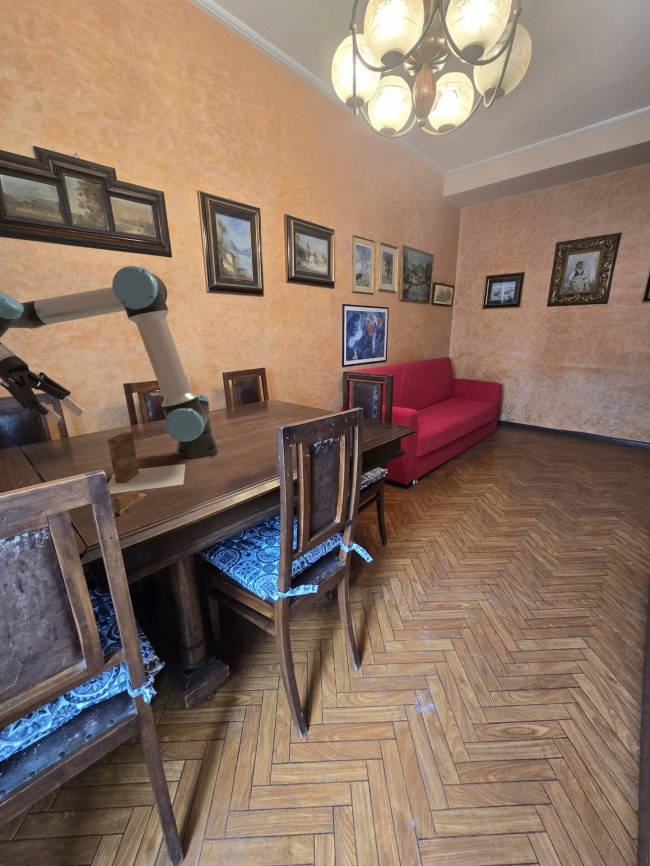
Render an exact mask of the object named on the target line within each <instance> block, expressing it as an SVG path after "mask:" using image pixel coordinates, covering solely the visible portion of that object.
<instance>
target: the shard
mask: <svg viewBox="0 0 650 866" xmlns="http://www.w3.org/2000/svg"><path fill="white" fill-rule="evenodd" d="M145 497H147V494H145V493H142V492H137V491H129V492H124V493H123V494H122V495H119V496H117V497H115V498H114V503H115V507H116V509H117V513H118V514H119V515H120V516H122V515H123V514H125V513H126V512H127V511H128V510H129V509H128V508H130V507H131V506H133V505H135V504H136V503H138V502H139V501H141V500H142V499H143V498H145Z"/></svg>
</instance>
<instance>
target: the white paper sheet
mask: <svg viewBox="0 0 650 866" xmlns="http://www.w3.org/2000/svg"><path fill="white" fill-rule="evenodd" d="M138 470H139V473H138V474H137V475H136V476H134V477H133V478H132V479H130V480H129V481H128V482H126V483H116V482H115V476H114V473H113V474H112V476H111V477H110V480H109V481H108V483H107V484H108V487H109V491H110V494H109V495H112V494H119V493H120V494H121V493H126V492H137V491H143V490H144V491H145V490H151V489H158V488H159V489H160V488H167V487H174V486H181V488H184V487H183V486H184V481H185V471H186V463H180V464H172V465H164V466H154V467H143V468H138Z"/></svg>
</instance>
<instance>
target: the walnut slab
mask: <svg viewBox="0 0 650 866" xmlns="http://www.w3.org/2000/svg"><path fill="white" fill-rule="evenodd" d="M107 445H108V450H109V455H110V459H111V465H112V470H113V474H114V476H115V482H116V483H126V482H128V481H129V480H130V479H132V478H133V477H134V476H136V475H137V474H138V473H139V470H138V469H139V465H138V459H137V452H136V446H135V441H134V435H133V432H127V431H126V432H125V431H124V432H123V431H122V432H120V433H119V434H118V435H115V436H113V437H111V438H108V439H107Z"/></svg>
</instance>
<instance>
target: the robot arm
mask: <svg viewBox="0 0 650 866" xmlns="http://www.w3.org/2000/svg"><path fill="white" fill-rule="evenodd" d="M167 298H168V289H167V287H166V284H165V283H164V281H163V280H162V279H161V278H160V277H159V276H157V275H155V274H153V273H152V272H150V271H149V270H148V269H147V268H144V267H143V266H135V265H127V266H124V267H122V268H120V269H118V270H117V272H116V273H115V274H114V276H113V278H112V283H111V286H110V287H105V288H99V289H94V290H88V291H82V292H76V293H72V294H67V295H60V296H54V297H47V298H42V299H36V300H32V301H25V302H20V301H19V300H17V299H16V298H15V297H13V296H11V295H10V294H8V293H5V292H2V291H0V338H1V337H3V336H4V335H5V333H6V332H7V331H8V330H9V329H20V328H21V329H30V330H33V329H37V328H38V329H39V328H42V327H43V326H47V325H53V324H58V323H64V322H69V321H73V320H80V319H86V318H92V317H96V316H102V315H107V314H112V313H119V312H123V311H124V312H126V315H127V318H128V320H130V321H131V322H133V323H135V325H136V327H137V330H138V332H139V335H140V338H141V340H142V343H143V345H144V348H145V351H146V353H147V356H148V359H149V362H150V365H151V366H152V370H153V373H154V375H155V377H156V381H157V383H158V387H159V388H160V391H161V394H162V397H163V401H162V403H161V405H160V406H161V409H162V410H163V414H164V416H165V419H164V427H165V430H166V433H167V434H168V435H169V437H171V438H172V439H174V440H176V441H178V442H177V444H176V451H175V453H176V457H179V458H181V459H187V460H194V459H196V460H197V459H203V458H207V457H210V458H212V457H215V455H217V454H218V453H219V447H218V444H217V441H216V440H215V437H214V434H213V433H212V424H211V422H212V421H211V414H210V401H209V398H208V395H206V394H195V393H194V392H192V391H191V388H190V385H189V382H188V379H187V376H186V373H185V371H184V368H183V365H182V361H181V359H180V356H179V353H178V350H177V347H176V345H175V342H174V339H173V336H172V333H171V331H170V327H169V323H168V322H167V316H168V314H169V309H168V305H167V300H168V299H167ZM0 380H1V381H0V387H3V389H6V391H8V393H9V394H10V395H11V396H12V397H13V398H14V400H16V402H17V403H18V404H19V405H20V407H22V408H23V409H28V410H29V411H31V412H33V411H34V410H35V411H36V412H38V413H39V414H40V415H41V416H43V417H45V418H46V419H47V420H48V421H50V422H51V423H52V424H54V425H57V424H59V422H60V421H61V420H62V418H63V417H62V416H61V415H59V414H58V413H57V412H56V411H54V409H52V408H51V407H50V406H49V405H48V404H46V403H45V402H40V401H39V400H38V398H37V395H36V394H35V392H34V390H36V391H41V392H43V393H46V394H48V396H49V395H50V396H52V397H53V398H56V399H58V400H59V401H61V402H60V403H61V404H62V405H64V407H66V408H67V409H68V410H70V411H71V412H72V413H74V415H76V416H77V417H81V416H82V414H83V412H85V409H84V408H83V407H82V406H81V405H79V404H78V403H77V402H76V401H75V400H74V399H72V398H71V397H70V395H71V393H72V392H71V391H70V390H69V389H67V388H65V387H64V386H62V385H61V384H59V383H57V382H56V381H54V380H53V379H52V378H50V377H49V376H47V374H45V372H42V371H41V372H39V373H37V374H36V373H35V372H33V371H31V370H30V369H29V365H28V364H27V363H26V362H25V361H24V360H23V359H22V358H20V357H19V356H17V354H16V353H15V352H13V351H12V350H11V349H10V348H9V347H8V346H6V345H5V344H3V343H2V342H1V341H0Z"/></svg>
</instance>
